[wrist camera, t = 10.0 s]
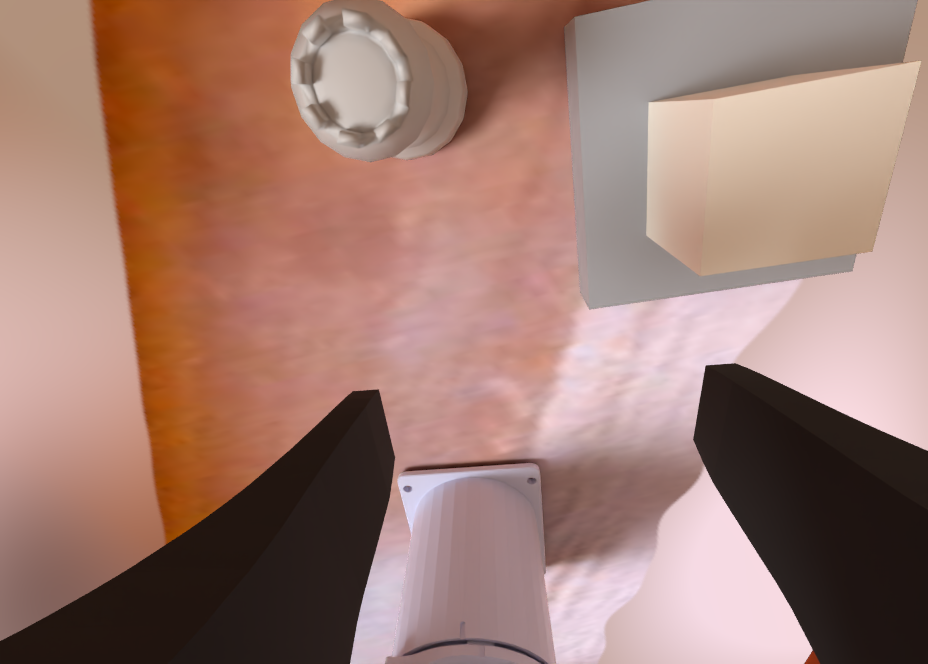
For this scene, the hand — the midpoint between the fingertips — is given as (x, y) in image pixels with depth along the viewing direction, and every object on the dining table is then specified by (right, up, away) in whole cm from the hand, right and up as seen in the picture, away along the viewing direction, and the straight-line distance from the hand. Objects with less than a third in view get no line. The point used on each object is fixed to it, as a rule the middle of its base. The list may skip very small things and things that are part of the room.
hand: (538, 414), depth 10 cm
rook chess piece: (-4, +11, +6) cm, 13 cm away
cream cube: (+7, +8, +5) cm, 12 cm away
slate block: (+8, +9, +7) cm, 14 cm away
